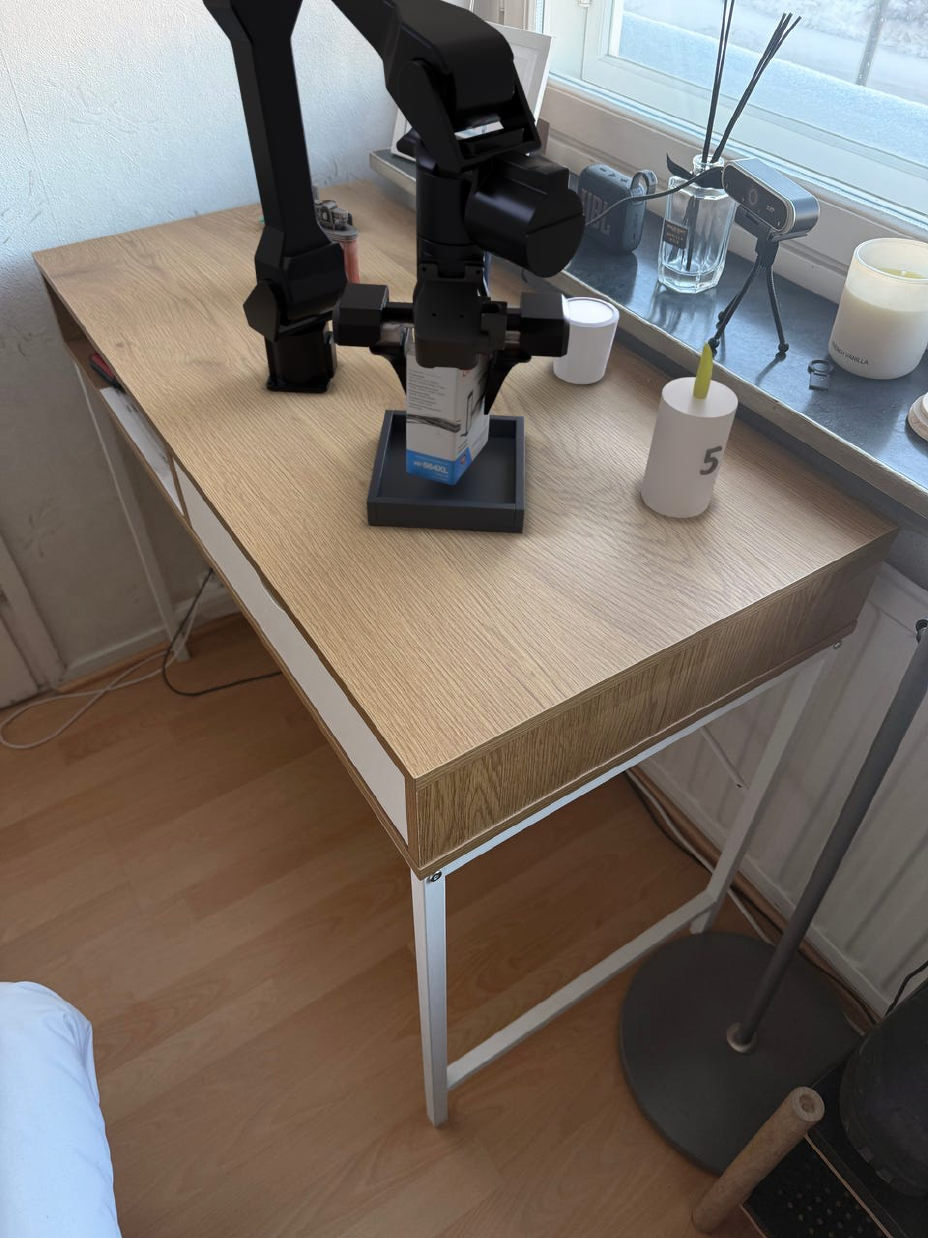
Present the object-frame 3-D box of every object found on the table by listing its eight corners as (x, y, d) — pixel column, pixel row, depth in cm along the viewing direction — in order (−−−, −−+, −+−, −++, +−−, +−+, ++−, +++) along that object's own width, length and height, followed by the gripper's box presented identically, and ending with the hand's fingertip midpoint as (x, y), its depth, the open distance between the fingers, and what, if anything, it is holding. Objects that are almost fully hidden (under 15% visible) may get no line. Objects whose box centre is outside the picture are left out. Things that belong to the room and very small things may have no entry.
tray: (367, 525, 76) (366, 501, 74) (386, 431, 87) (385, 409, 85) (522, 533, 76) (524, 509, 74) (522, 438, 86) (524, 416, 84)
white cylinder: (607, 390, 93) (617, 329, 88) (543, 382, 94) (550, 321, 89) (612, 359, 98) (622, 299, 93) (551, 351, 99) (558, 292, 94)
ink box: (453, 488, 76) (460, 366, 68) (402, 473, 77) (403, 351, 69) (490, 440, 82) (501, 321, 74) (442, 426, 83) (447, 308, 75)
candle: (667, 526, 77) (705, 375, 67) (627, 485, 81) (657, 336, 71) (724, 508, 79) (770, 359, 68) (683, 469, 83) (720, 322, 73)
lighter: (367, 289, 108) (362, 206, 101) (350, 299, 106) (344, 214, 99) (316, 272, 111) (309, 190, 104) (299, 282, 109) (290, 199, 102)
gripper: (311, 270, 59) (330, 458, 71) (583, 284, 59) (559, 471, 70) (336, 207, 67) (349, 386, 78) (577, 219, 67) (555, 397, 78)
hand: (450, 410), depth 76 cm, fingers closed on ink box, 6 cm apart
